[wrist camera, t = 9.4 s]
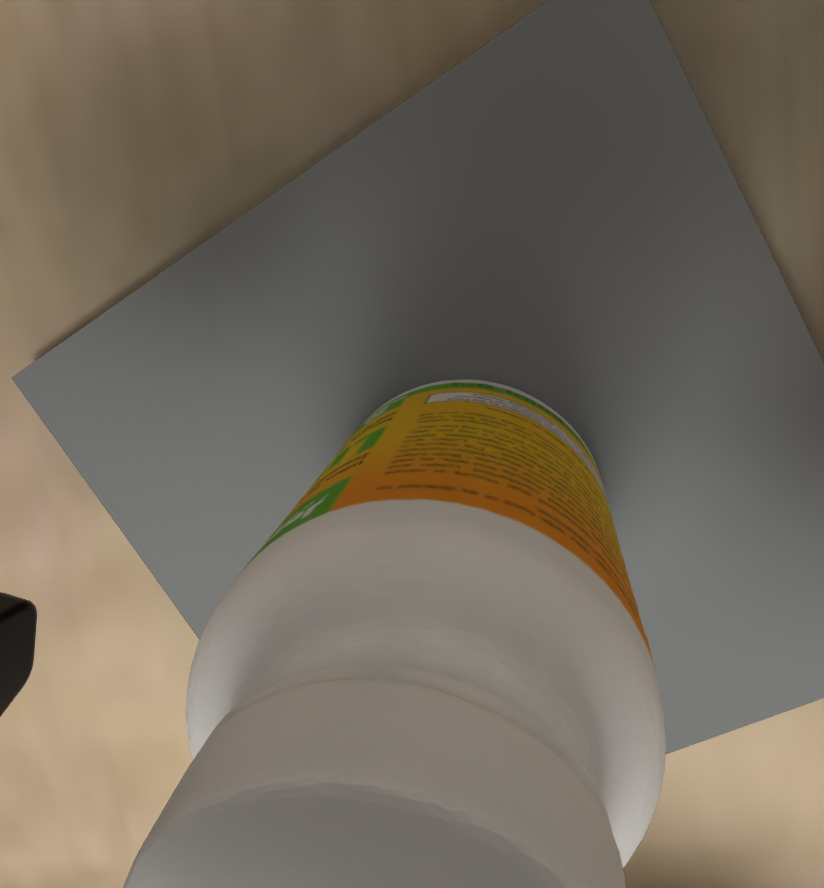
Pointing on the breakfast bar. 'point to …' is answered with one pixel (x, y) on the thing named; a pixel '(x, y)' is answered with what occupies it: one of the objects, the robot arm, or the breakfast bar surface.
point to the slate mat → (495, 348)
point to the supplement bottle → (424, 672)
